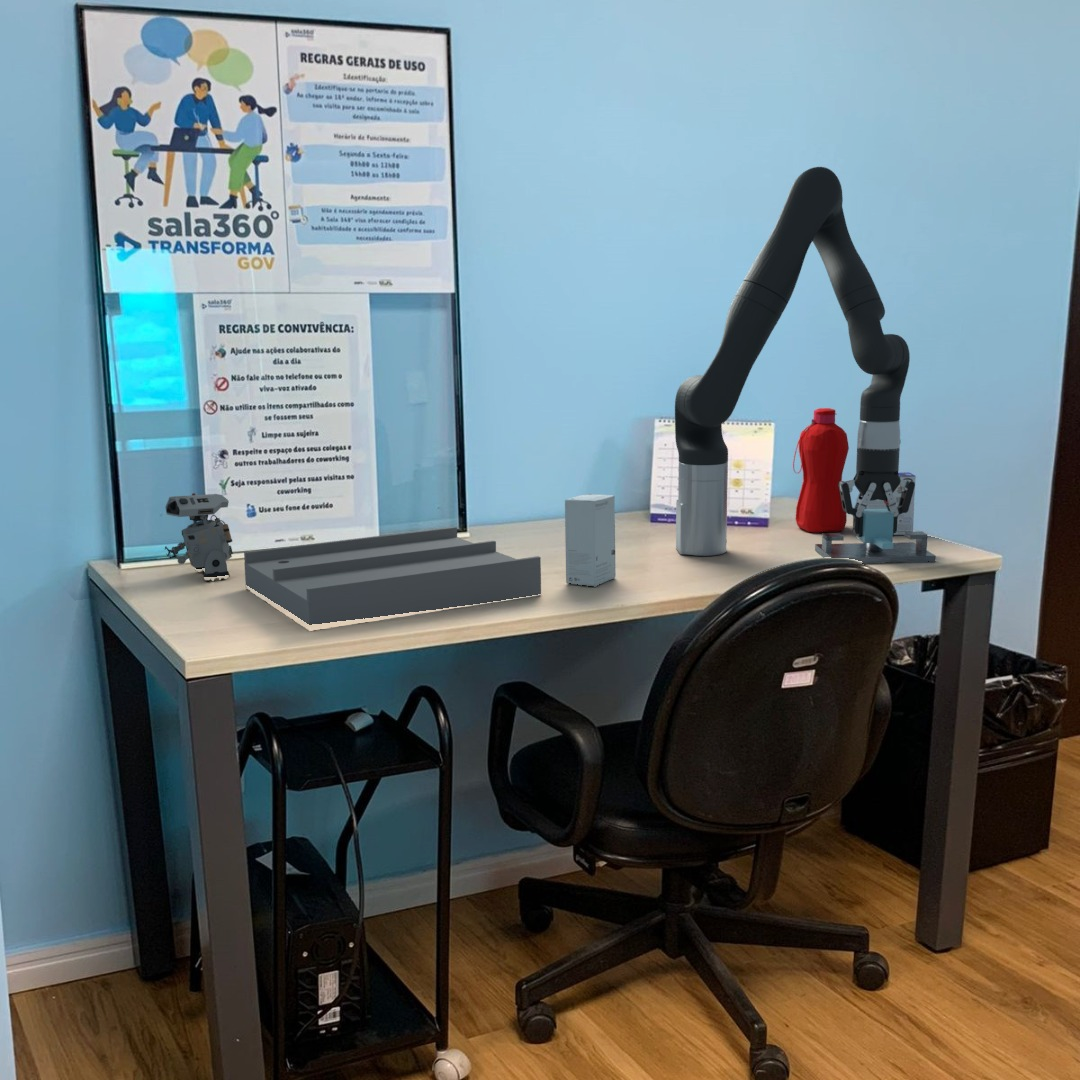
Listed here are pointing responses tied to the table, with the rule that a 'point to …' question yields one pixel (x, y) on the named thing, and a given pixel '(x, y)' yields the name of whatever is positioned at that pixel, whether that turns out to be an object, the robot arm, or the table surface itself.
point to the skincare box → (590, 539)
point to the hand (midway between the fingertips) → (874, 535)
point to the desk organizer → (388, 575)
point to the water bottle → (822, 474)
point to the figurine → (202, 533)
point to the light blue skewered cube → (878, 528)
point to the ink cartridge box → (903, 519)
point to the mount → (877, 549)
